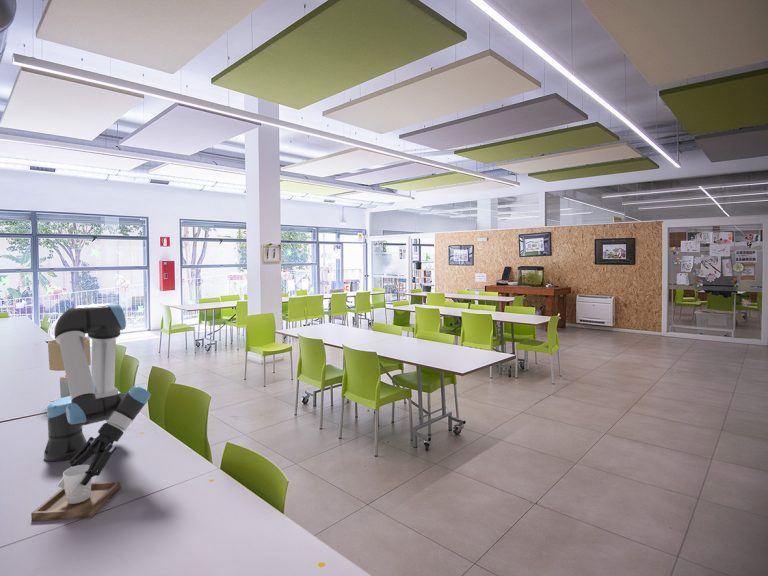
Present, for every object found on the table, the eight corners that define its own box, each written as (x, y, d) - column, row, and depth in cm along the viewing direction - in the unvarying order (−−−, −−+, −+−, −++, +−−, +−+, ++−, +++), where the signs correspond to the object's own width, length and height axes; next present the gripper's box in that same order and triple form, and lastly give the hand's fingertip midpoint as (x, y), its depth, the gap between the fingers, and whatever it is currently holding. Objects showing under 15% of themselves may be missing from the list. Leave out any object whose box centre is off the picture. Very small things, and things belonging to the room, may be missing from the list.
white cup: (62, 507, 142) (60, 478, 141) (66, 495, 149) (65, 467, 148) (91, 501, 146) (89, 472, 145) (94, 489, 153) (93, 462, 152)
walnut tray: (31, 520, 138) (31, 513, 137) (67, 490, 155) (67, 483, 155) (91, 517, 139) (91, 510, 139) (120, 488, 157) (120, 481, 157)
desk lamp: (77, 406, 242) (73, 344, 240) (42, 406, 243) (38, 343, 240) (100, 395, 262) (97, 337, 259) (68, 395, 262) (65, 337, 259)
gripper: (139, 437, 154) (92, 503, 141) (107, 426, 164) (60, 486, 152) (123, 428, 149) (73, 495, 136) (91, 416, 159) (42, 478, 147)
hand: (66, 490), depth 144 cm, fingers open, 8 cm apart
